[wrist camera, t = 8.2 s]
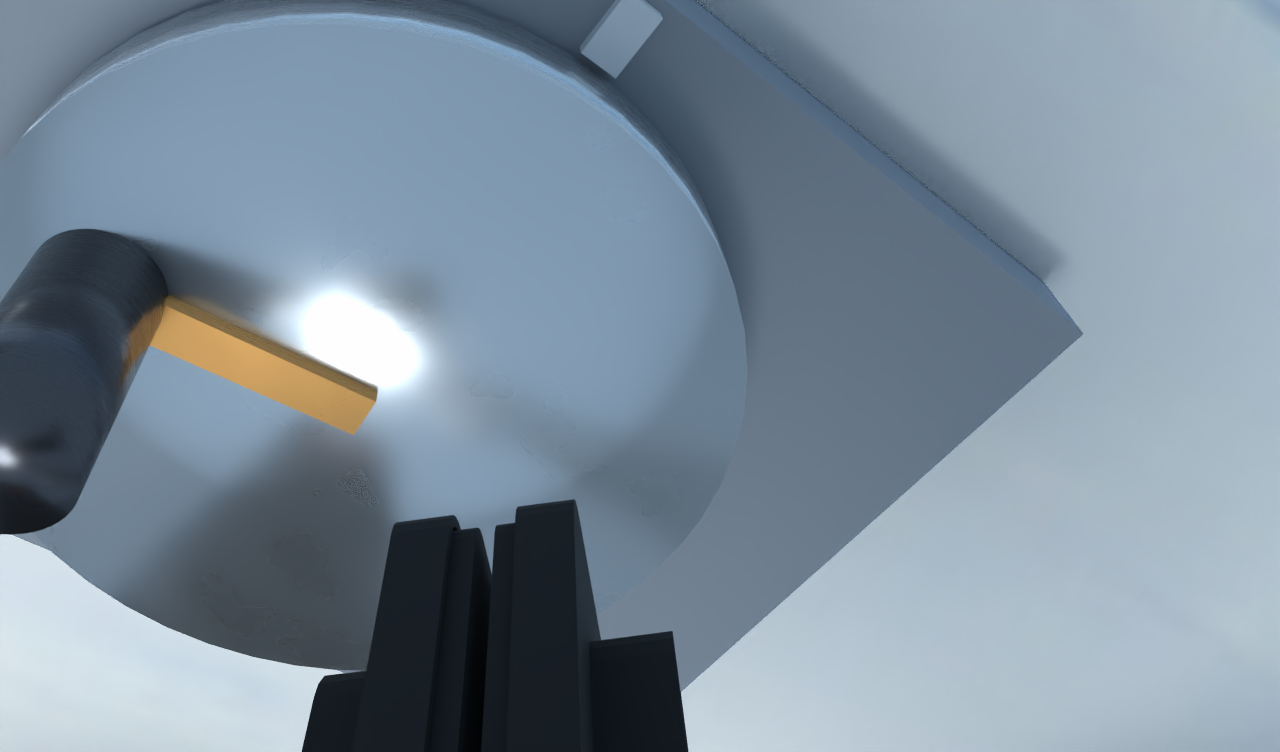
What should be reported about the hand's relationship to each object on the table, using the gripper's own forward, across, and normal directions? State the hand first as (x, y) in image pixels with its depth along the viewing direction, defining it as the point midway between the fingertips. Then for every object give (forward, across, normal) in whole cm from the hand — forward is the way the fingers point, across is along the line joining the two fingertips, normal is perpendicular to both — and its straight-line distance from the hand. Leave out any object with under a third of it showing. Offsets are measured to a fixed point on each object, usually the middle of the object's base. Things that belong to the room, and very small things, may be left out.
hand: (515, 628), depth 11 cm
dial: (+10, +3, +3) cm, 11 cm away
